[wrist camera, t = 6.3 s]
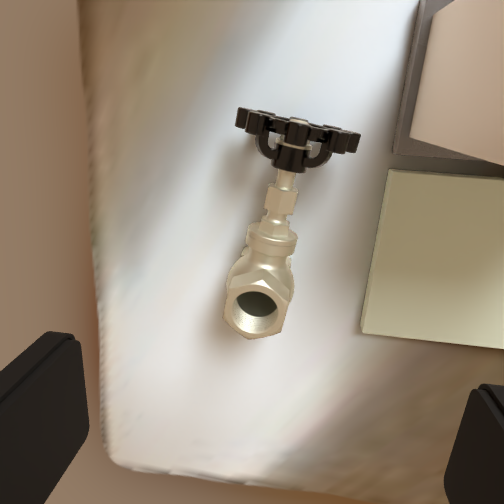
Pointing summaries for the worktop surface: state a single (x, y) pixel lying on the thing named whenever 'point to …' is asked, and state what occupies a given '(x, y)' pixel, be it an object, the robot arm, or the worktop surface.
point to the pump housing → (454, 83)
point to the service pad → (438, 260)
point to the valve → (275, 221)
